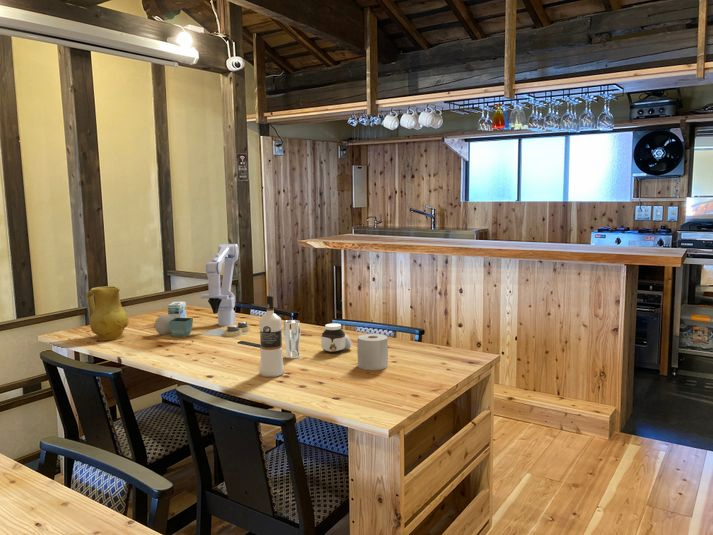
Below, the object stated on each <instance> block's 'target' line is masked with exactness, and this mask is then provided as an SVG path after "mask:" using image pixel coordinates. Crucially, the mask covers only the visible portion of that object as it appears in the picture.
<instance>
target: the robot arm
mask: <svg viewBox="0 0 713 535" xmlns="http://www.w3.org/2000/svg"><path fill="white" fill-rule="evenodd" d="M239 248H240V247H239V245H238V244H237V243H219V244H218V246H217V254H214V256H213V257H212V259H211V260H210V261H208V262H206V265H205V272H206V276H207V280H208V281H207V284H208V286H207V288H208V293H202V294H200V299H208V300H207V301H208V303H209V305H210V307H211V310H212V313H213V314H217V325H218V326H221V327H227V326H230V325H233V324H235V323H236V311H235V310H234V308H235V306H236V296H235V294H234V292H232V291H231V290H232V282H233V275H234V268H235V263H236V262H237V261H238V260H239V253H240V249H239ZM223 265H224V267H223ZM222 268H223V273H222ZM221 273H222V274H223V276H222V281H221ZM221 282H222V283H221Z"/></svg>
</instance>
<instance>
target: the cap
mask: <svg viewBox="0 0 713 535" xmlns="http://www.w3.org/2000/svg"><path fill="white" fill-rule="evenodd" d="M226 329H227V332H235V331H238V325H233V324H232V325H228V326H226Z"/></svg>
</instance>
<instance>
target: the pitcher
mask: <svg viewBox="0 0 713 535" xmlns="http://www.w3.org/2000/svg"><path fill="white" fill-rule="evenodd" d="M120 291H121V290H120V288H119V286H118V285H115V286H114V285H113V286H112V285H111V286H110V285H109V286H107V285H106V286H97V287H92V288H90V290H88V291H87V293H86V299H87V304H88V306H87V307H88V308H89V312H90V317H89V327H90V330H91V332H92V333H94V334H95V335H96V336H97V337H96V341H102V342H103V341H113V340H114V341H116V340H120V339H123V338H124V335H123V333H124V331H125V328H127V327H128V326H129V324H130V322H129V316H128V313H127V312H126V311H125V309H124V307H123V306H122V304H121V298H120Z"/></svg>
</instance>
